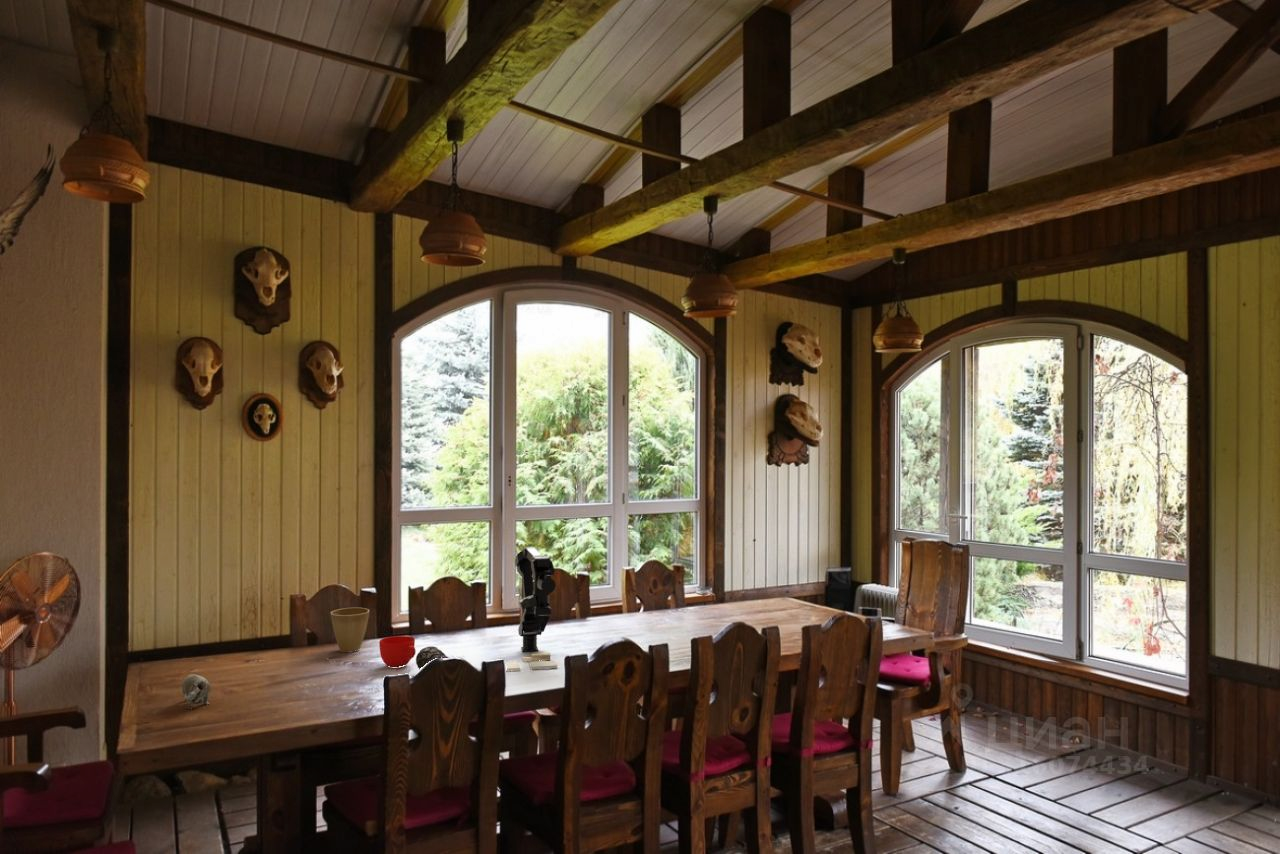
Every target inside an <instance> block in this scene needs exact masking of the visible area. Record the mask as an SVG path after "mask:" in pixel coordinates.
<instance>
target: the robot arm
mask: <svg viewBox="0 0 1280 854" xmlns="http://www.w3.org/2000/svg"><path fill="white" fill-rule="evenodd" d="M514 565H515V567H516V571H517V573H518V574H519V576H520V577H521V587H522V598H521V599H519V600H518V602H519V604H520V607H521V609H522V610H523V614H522V616H521V618H520V622H519V625H518V629H517V631H518V635H519V636H520V637H522V646H521V647H520V648H521V651H522V652H525V653H526V652H539V648H538V645H537V644H538V640H537V639H538V636H541V635H542V633H544V632H545V629H546V627H547V625H548V622H549V620H550V618H551V616H552V608H551V606H550V601H549V597H550V594H552V593H553V592H554V591H555V590H556V586H557V585H556V582H555V580H554V579H553V578H552V576H555V567H554V562H552V559H551V558H550V556H547V555H542V554H541V553H540V552H539V550H537V547H536V546H525V547H523V549H522V550H521V551H520V552H518V553H517V554H516V556H515V559H514Z"/></svg>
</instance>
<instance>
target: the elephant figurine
mask: <svg viewBox="0 0 1280 854" xmlns="http://www.w3.org/2000/svg"><path fill="white" fill-rule="evenodd" d="M181 689H182V693H183V696H184V699H183V702H184V701H186V702H185V703H187V702H188V703H189V707H188V709H193V710H194V708H193V706H194V704H195V703H202V704H203V705H205V704H206V705H205V706H207V705H208V704H209V705H210V702H208V699H209V696H210V695H209V692H211V684H210V683H209V681H208V679H207V678H205V677H204V676H202V675H198V674H195V673H194V674H193V673H192V674H191V673H190V674H189V675H187V676H186V677H184V679H183V681H182V683H181Z"/></svg>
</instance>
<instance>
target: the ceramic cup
mask: <svg viewBox="0 0 1280 854" xmlns="http://www.w3.org/2000/svg"><path fill="white" fill-rule="evenodd" d="M378 643H379V654H380V657H381V661H383V663H384V664H385V666H387V667H388V666H390V667H399V666H403V665H406V664H407V665H408V664H409V663H410V661H411V660H412V659H413V658H414V657H415V655H416V651H417V650H416V648H415V643H416V638H415V637H413V636H408V635H394V636H389V637H383V638H381V639H380V640H379V642H378ZM407 665H406V666H407Z"/></svg>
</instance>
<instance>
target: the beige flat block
mask: <svg viewBox="0 0 1280 854" xmlns="http://www.w3.org/2000/svg"><path fill="white" fill-rule="evenodd" d="M522 659H523V660H522V663H523V662H537V661H539V660H540V661H541V660H550V661H551V654H550V652H543V653H541V652H540V653H531V656H529V657H527V656H526V657H522Z"/></svg>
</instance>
